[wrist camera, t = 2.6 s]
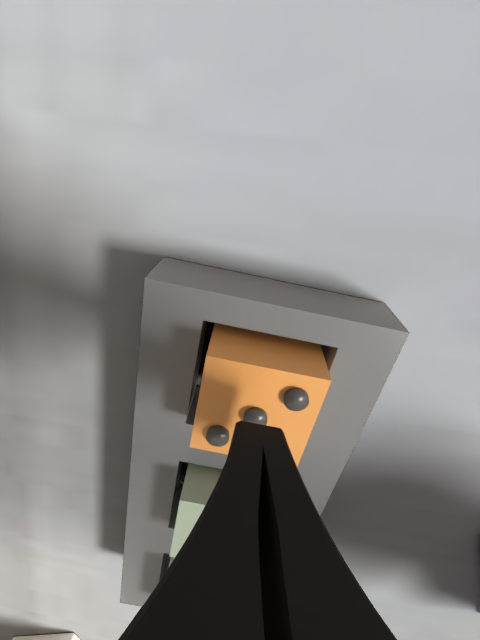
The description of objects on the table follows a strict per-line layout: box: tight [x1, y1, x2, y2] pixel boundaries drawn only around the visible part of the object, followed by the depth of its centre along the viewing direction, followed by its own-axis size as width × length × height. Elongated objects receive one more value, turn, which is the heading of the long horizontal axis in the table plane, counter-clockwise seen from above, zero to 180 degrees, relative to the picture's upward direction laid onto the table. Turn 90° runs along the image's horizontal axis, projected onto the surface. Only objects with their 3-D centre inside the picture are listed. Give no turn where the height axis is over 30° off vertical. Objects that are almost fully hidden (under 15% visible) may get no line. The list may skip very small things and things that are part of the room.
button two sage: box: [169, 463, 222, 558], centre depth 16 cm, size 4×4×3 cm
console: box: [120, 257, 409, 606], centre depth 17 cm, size 21×9×2 cm, turn 169°
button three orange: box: [190, 323, 331, 467], centre depth 13 cm, size 4×4×3 cm
